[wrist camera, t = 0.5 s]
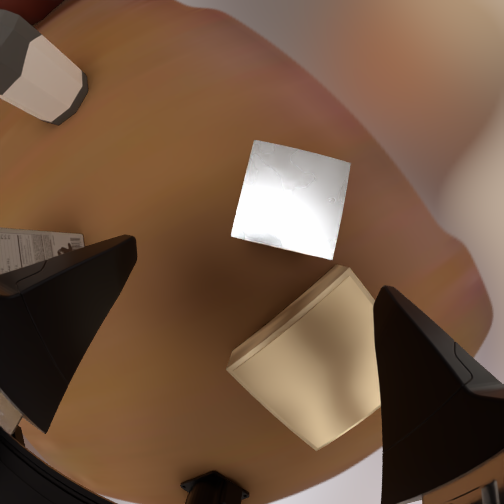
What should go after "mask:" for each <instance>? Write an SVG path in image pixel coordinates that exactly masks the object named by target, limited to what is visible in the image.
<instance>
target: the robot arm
mask: <svg viewBox="0 0 504 504" xmlns="http://www.w3.org/2000/svg"><path fill="white" fill-rule="evenodd" d="M136 261H137V247H136V239H135V237H134V236H130V235H121V236H118V237H115V238H111V239H108V240H105V241H101V242H98V243H95V244H92V245H89V246H85V247H82V248H79V249H76V250H73V251H70V252H67V253H64V254H61V255H58V256H55V257H52V258H49V259H48V260H47V259H46V260H43V261H40V262H37V263H34V264H32V265H29V266H25V267H22V268H19V269H16V270H13V271H9V272H6V273H3V274H0V504H117V503H115V502H113V501H110V500H109V499H106V498H104V497H102V496H100V495H98V494H96V493H95V492H93V491H91V490H89V489H87V488H85V487H83V486H82V485H80V484H78V483H76V482H75V481H73V480H71V479H70V478H68V477H67V476H65V475H63V474H62V473H60V472H59V471H57V470H56V469H54V468H53V467H51V466H50V465H48V464H47V463H45V462H44V461H42V460H41V459H40V458H38V457H37V456H36V455H35V454H33V453H32V452H31V451H29V450H28V449H27V448H25V444H24V439H23V435H22V430H21V427H19V426H18V424H19V423H20V421H21V419H22V417H23V418H24V419H26V420H27V421H28V422H30V423H31V424H32V425H34V426H35V427H36V428H38V429H39V430H40V431H42V432H43V433H45V434H46V433H47V431H48V429H49V427H50V424H51V422H52V420H53V417H54V415H55V413H56V411H57V409H58V406H59V404H60V402H61V400H62V398H63V396H64V394H65V392H66V389H67V387H68V385H69V383H70V381H71V379H72V377H73V375H74V373H75V371H76V369H77V367H78V365H79V364H80V362H81V360H82V358H83V356H84V354H85V352H86V351H87V349H88V347H89V345H90V343H91V342H92V340H93V338H94V336H95V335H96V333H97V331H98V329H99V328H100V326H101V324H102V323H103V321H104V319H105V317H106V316H107V314H108V313H109V311H110V309H111V308H112V306H113V304H114V303H115V301H116V300H117V298H118V296H119V295H120V293H121V291H122V289H123V287H124V285H125V283H126V281H127V279H128V277H129V275H130V273H131V271H132V269H133V267H134V265H135V263H136ZM373 321H374V344H375V353H376V361H377V369H378V378H379V389H380V401H381V416H382V441H383V466H382V467H383V468H382V495H381V504H407V503H411V502H415V501H419V500H422V504H504V384H502V383H501V382H500V381H498V380H497V379H496V378H495V377H494V376H493V375H492V374H491V373H490V372H488V371H487V370H486V369H485V368H484V367H483V366H482V365H480V364H479V363H478V362H477V361H476V360H475V359H474V358H473V357H471V356H470V355H469V354H468V353H467V352H466V351H465V350H464V349H463V348H462V347H461V346H460V345H459V344H458V343H457V342H454V340H453V339H452V338H451V337H450V336H449V335H448V334H447V333H446V332H445V331H444V330H442V329H441V328H440V327H439V326H438V325H437V324H436V323H435V322H434V321H433V320H431V319H430V318H429V317H428V316H427V315H426V314H425V313H423V312H422V311H421V310H420V309H419V308H418V307H417V306H415V305H414V304H413V303H412V302H411V301H410V300H409V299H407V298H406V297H405V296H404V295H403V294H401V293H400V292H399V291H398V290H397V289H395V288H394V287H391V286H386V285H384V286H383V287H382V288H381V290H380V292H379V294H378V296H377V298H376V300H375V302H374V305H373ZM180 486H181V488H183V489H184V490H186V491H187V492H189V493H188V496H187V499H186V502H185V504H241V500H243V499H245V498H248V497H249V493H248V492H246V491H245V490H243V489H241V488H240V487H238V486H237V485H235V484H234V483H232V482H231V481H229V480H228V479H226V478H225V477H223V476H222V475H220V474H219V473H218V472H215V471H212V472H209V473H207V474H204V475H202V476H199V477H197V478H194V479H191V480H189V481H186V482H183V483H181V485H180Z"/></svg>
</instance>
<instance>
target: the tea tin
mask: <svg viewBox="0 0 504 504" xmlns="http://www.w3.org/2000/svg"><path fill="white" fill-rule="evenodd" d="M350 164H351V163H348V162H345V161H341V160H338V159H334V158H331V157H327V156H323V155H320V154H316V153H312V152H308V151H304V150H300V149H295V148H291V147H287V146H282V145H277V144H273V143H268V142H263V141H258V140H254V143H253V147H252V151H251V155H250V159H249V163H248V167H247V171H246V175H245V179H244V183H243V187H242V191H241V196H240V200H239V204H238V208H237V212H236V216H235V221H234V225H233V229H232V234H231V236H232V237H236V238H240V239H243V240H246V241H250V242H255V243H259V244H263V245H268V246H272V247H276V248H280V249H285V250H289V251H293V252H297V253H302V254H306V255H311V256H317V257H321V258H326V259H330V260H332V259H333V254H334V250H335V245H336V241H337V236H338V231H339V226H340V221H341V216H342V211H343V206H344V200H345V195H346V189H347V183H348V177H349V171H350Z"/></svg>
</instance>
